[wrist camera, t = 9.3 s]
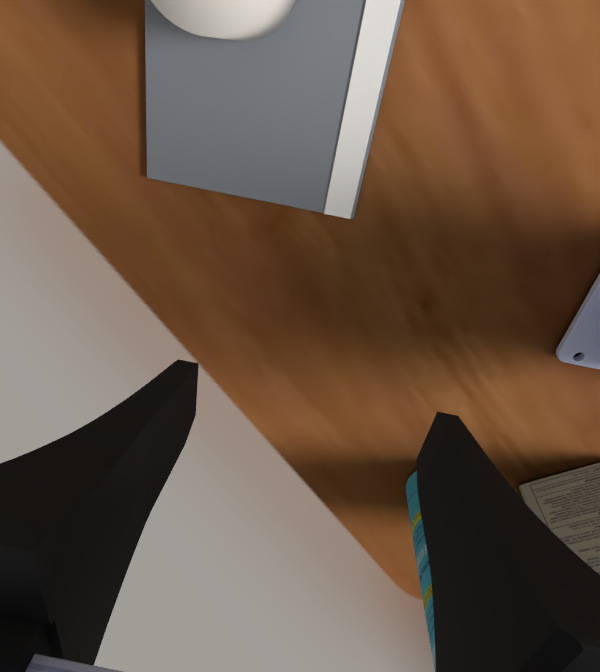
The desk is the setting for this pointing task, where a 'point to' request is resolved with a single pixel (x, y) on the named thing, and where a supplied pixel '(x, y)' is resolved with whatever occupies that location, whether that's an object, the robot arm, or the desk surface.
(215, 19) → the white tapered cylinder
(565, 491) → the skincare box
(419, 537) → the tube
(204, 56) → the gray book
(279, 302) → the desk surface
